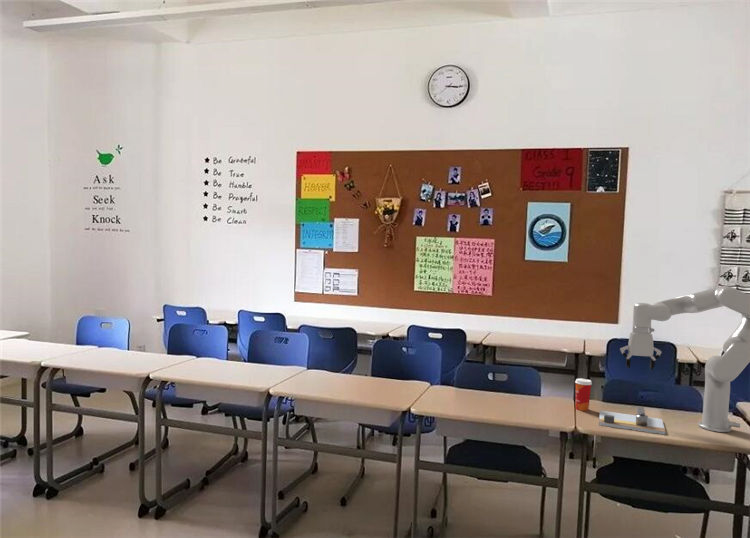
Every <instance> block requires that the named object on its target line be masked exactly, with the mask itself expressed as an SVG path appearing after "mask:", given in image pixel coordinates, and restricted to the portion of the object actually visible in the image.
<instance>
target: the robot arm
mask: <svg viewBox="0 0 750 538" xmlns="http://www.w3.org/2000/svg"><path fill="white" fill-rule="evenodd" d="M722 307H726V308H727V309H729V310H732V311H734V312H736V313H738V314H741V321H740V323H739V324H738V326H737V328H736V329H735V330H734V331H733V332H732V334H731V335H730V336H729V337H728V338H727V339H726V340H725V342H724V343H723V345H722V350H723V354H722V355H714V356H710V357H709V358H708V359H707V360H706V363H705V365H704V378H705V379H704V394H703V395H704V396H703V405H702V406H703V410H702V420H700V421H698V422H697V425H698V427H699V428H702V429H704V430H707V431H711V432H718V433H730V432H732V427H734V428H739V429H740V428H741V423H740V422H736V421H730V420H729V409H730V407H729V406H730V395H731V382H733V381H735V379H736V378H737V377H739V375H740V374H741V373H742V372H743V371H744V369H745V368H746V367H747V365H749V363H750V294H748V293H745V292H744V291H741V290H739V289H736V288H734V287H731V286H729V285H728V286H727V285H722V286H717V287H713V288H709V289H706V290H702V291H698V292H695V293H690V294H686V295H682V296H677V297H673V298H670V299H666V300H661V301H658V302H655V303H653V304H649V303H647V302H645V303H644V302H636V303H634V304H633V310H632V311H633V312H632V314H633V315H632V332H630V334H629V337H628V343H627V344H628V345H625V346H623V347H620V348H619V350H620V352H621V354H622V355H623V356H624V358H625V366H626V367H627V369H630V368H631V358H632V356H636V357H639V356H640V357H649V358H650V359H649V369H650V370H652V371H653V370H654V368H655V366H656V365H655V362H656V360H657V359H658V358H660V356H661V354H662V351H661V350H660V349H658V348H656V347H654V338H653V334H652V333H653V332H655V328H652V320H653V321H656V322H657V321H658V322H666V321H669V320H670V319H671V318H672V316H675V315H680V314H696V313H697V314H699V313H702V312H706V311H710V310H714V309H718V308H722ZM626 350H627V353H626ZM654 351H655V352H656V354H655V355H654Z"/></svg>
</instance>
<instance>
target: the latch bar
mask: <svg viewBox="0 0 750 538" xmlns="http://www.w3.org/2000/svg"><path fill="white" fill-rule="evenodd" d="M648 417H649V416H648V415H646V411H645V406H638V405H637V406H636V424H638V425H643V426H646V425H647V422H648Z"/></svg>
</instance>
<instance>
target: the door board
mask: <svg viewBox="0 0 750 538" xmlns="http://www.w3.org/2000/svg"><path fill="white" fill-rule="evenodd" d="M598 417H599V419H598V425H599V426H604V427H610V428H616V429H617V428H618V429H623V430H630V429H632V431H636V430H638V431H639V432H643V431H644V433H651V434H657V433H658V435H664V436H666V428H665V425H664V422H663V419H662V418H657V417H649V416H648V422H647V425H646V426H643V425H638V424H636V415H635V414H629V413H628V414H627V413H622V412H621V413H619V412H614V411H613V412H612V411H607V410H599V416H598Z"/></svg>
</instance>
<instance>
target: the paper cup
mask: <svg viewBox="0 0 750 538" xmlns="http://www.w3.org/2000/svg"><path fill="white" fill-rule="evenodd" d="M574 383H575V409H576V410H577V411H580V412H587V411H589V406H590V401H591V400H590V398H591V391H592V385H593V383H592V380H591V379H586V378H576V379H575V381H574Z"/></svg>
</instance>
